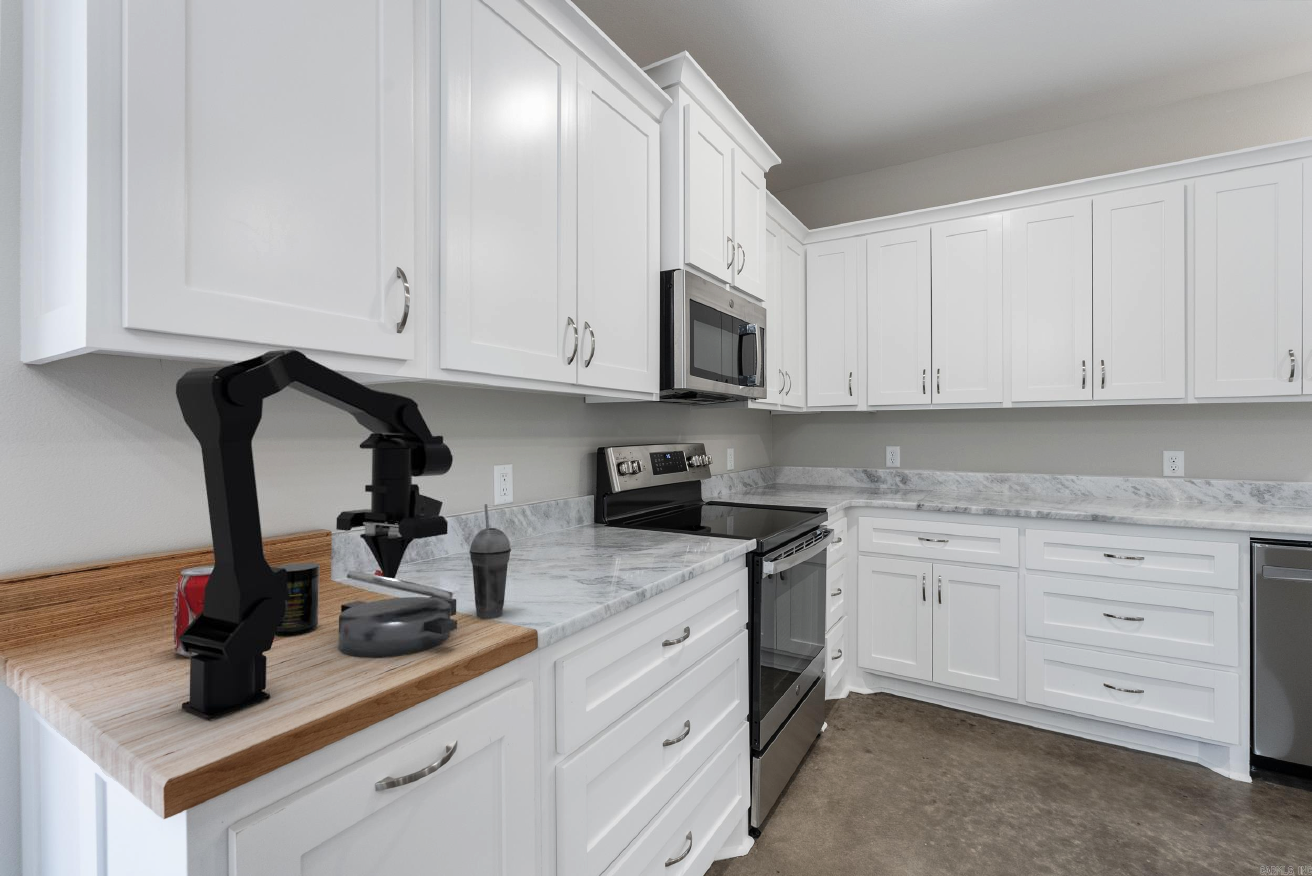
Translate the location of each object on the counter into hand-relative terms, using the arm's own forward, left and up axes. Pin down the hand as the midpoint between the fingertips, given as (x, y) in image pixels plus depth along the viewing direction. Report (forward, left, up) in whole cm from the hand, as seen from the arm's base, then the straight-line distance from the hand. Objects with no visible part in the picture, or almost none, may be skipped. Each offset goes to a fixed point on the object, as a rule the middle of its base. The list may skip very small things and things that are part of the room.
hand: (390, 578), depth 91 cm
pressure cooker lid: (+2, 0, -2) cm, 3 cm away
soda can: (-16, +20, -10) cm, 27 cm away
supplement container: (-4, +18, -10) cm, 21 cm away
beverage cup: (+18, -4, -10) cm, 21 cm away
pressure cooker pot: (+1, 0, -10) cm, 10 cm away
